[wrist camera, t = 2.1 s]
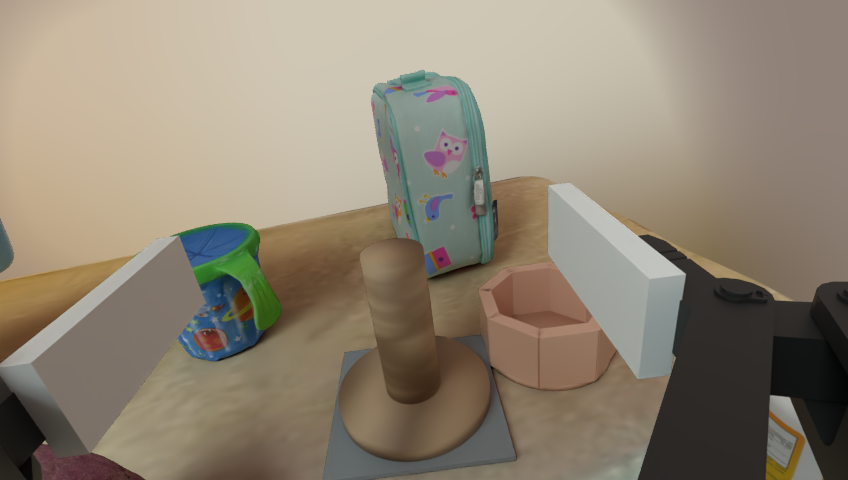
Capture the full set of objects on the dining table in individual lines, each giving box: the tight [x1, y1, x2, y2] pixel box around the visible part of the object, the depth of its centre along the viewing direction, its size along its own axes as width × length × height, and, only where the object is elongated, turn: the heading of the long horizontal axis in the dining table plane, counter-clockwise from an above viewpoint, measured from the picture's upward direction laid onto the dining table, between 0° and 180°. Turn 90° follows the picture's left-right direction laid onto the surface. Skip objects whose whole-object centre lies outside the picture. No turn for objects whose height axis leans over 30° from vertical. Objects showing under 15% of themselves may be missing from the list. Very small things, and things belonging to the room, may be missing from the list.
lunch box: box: [371, 70, 498, 278], centre depth 51 cm, size 27×10×21 cm, turn 12°
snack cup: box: [133, 223, 281, 361], centre depth 40 cm, size 16×10×10 cm
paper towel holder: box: [338, 238, 490, 462], centre depth 29 cm, size 11×11×12 cm
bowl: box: [478, 262, 617, 391], centre depth 34 cm, size 10×10×5 cm
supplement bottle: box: [766, 395, 824, 480], centre depth 21 cm, size 5×5×10 cm
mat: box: [323, 335, 516, 480], centre depth 32 cm, size 12×12×1 cm
